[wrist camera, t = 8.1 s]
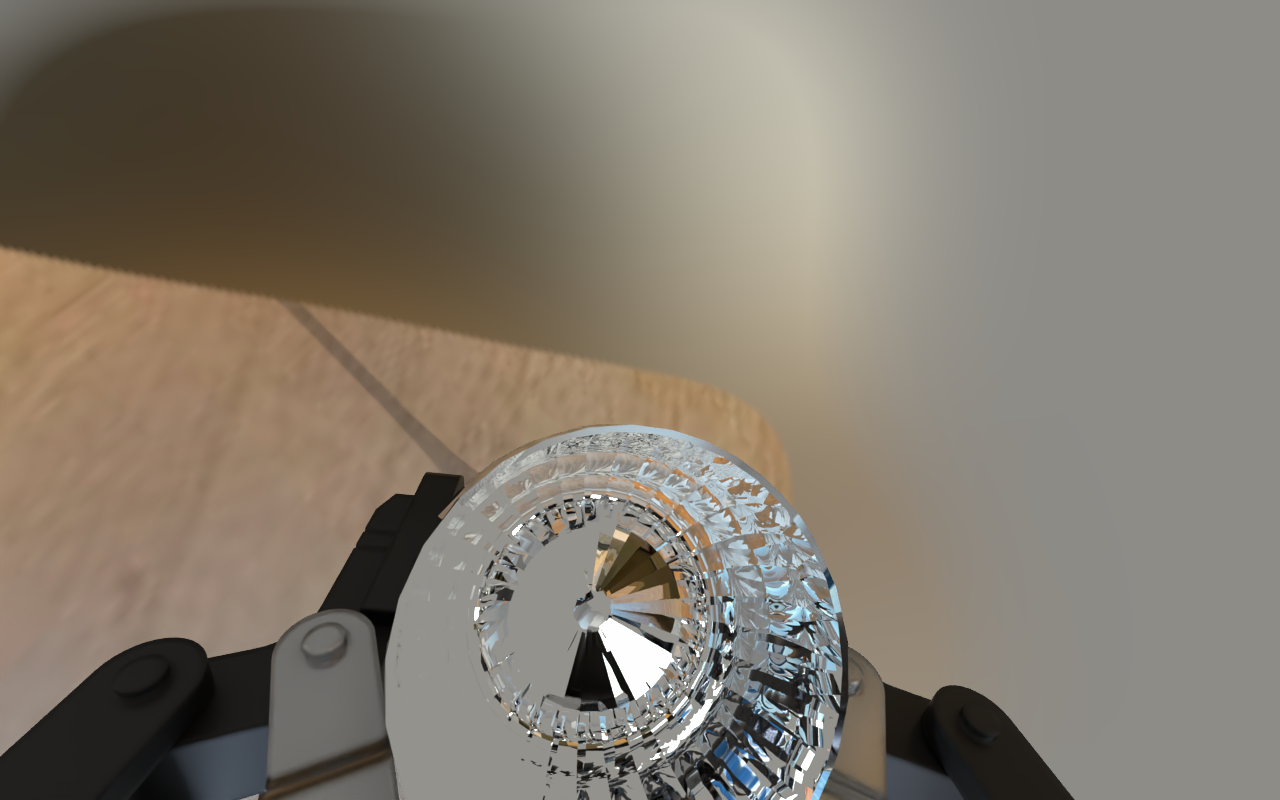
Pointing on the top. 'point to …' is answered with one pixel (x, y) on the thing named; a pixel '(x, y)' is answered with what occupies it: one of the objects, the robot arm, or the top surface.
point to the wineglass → (616, 631)
